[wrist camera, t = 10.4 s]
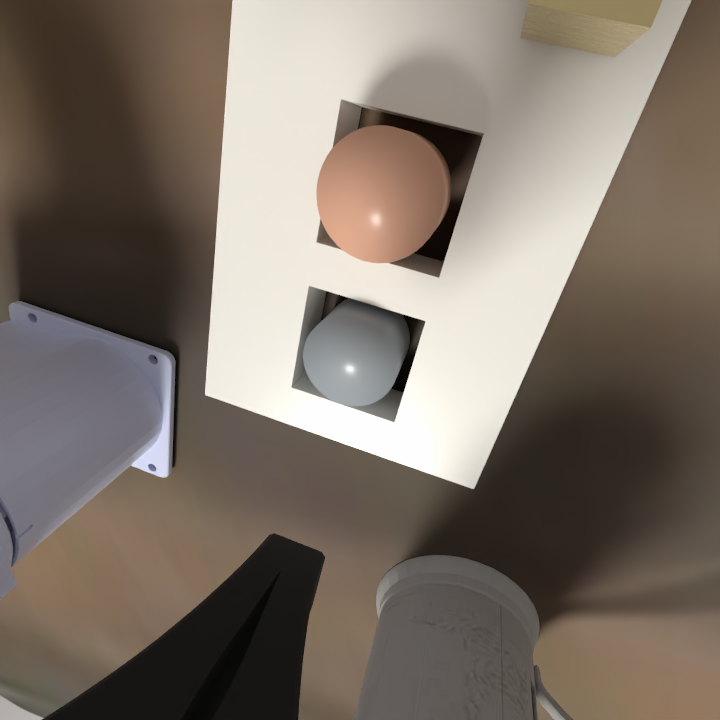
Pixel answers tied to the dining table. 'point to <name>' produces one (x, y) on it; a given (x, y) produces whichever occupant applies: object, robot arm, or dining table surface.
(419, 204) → the terracotta button
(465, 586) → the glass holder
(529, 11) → the brass slider
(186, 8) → the dining table surface
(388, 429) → the white flat block
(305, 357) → the slate button
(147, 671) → the robot arm
